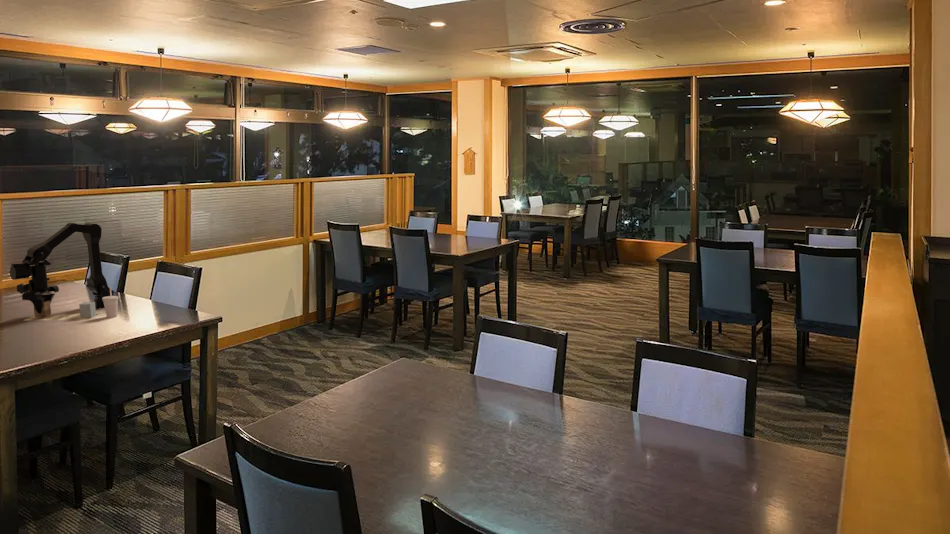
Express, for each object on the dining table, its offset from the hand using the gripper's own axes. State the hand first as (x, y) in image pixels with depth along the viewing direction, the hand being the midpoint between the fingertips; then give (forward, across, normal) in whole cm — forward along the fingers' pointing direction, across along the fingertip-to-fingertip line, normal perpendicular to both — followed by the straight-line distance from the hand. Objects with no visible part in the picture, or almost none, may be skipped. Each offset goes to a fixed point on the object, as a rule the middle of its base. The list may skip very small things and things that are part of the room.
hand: (42, 312), depth 310 cm
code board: (+3, 0, +8) cm, 9 cm away
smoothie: (+4, +1, +29) cm, 29 cm away
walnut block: (+2, 0, 0) cm, 2 cm away
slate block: (+2, 0, +19) cm, 19 cm away
